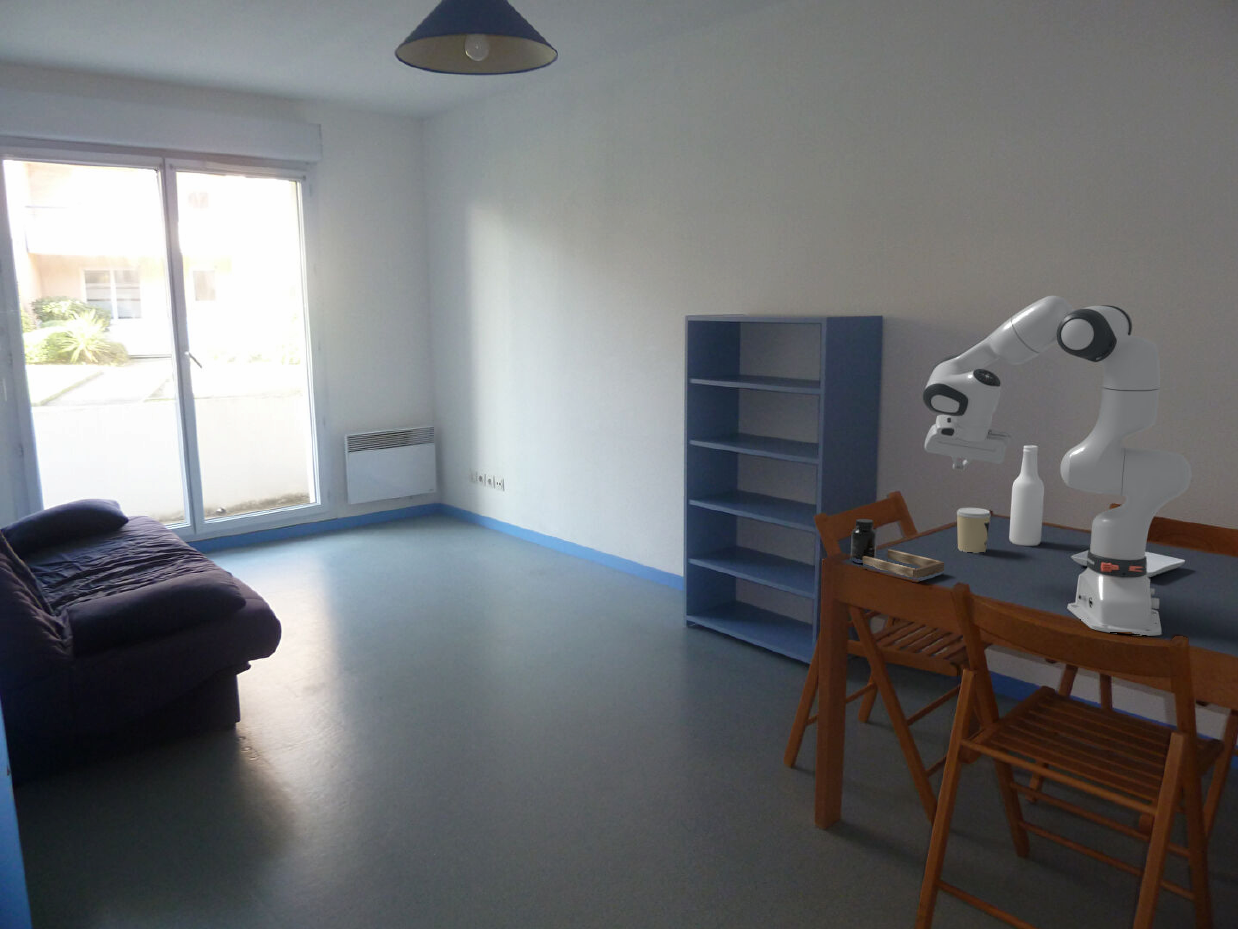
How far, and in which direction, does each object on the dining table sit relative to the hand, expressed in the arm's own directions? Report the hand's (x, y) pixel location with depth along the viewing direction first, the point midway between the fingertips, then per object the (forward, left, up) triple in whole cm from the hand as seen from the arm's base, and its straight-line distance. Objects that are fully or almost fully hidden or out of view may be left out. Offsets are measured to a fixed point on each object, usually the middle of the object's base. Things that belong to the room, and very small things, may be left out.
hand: (958, 468), depth 237 cm
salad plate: (+12, -45, -29) cm, 55 cm away
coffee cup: (+21, -6, -28) cm, 36 cm away
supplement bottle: (0, +24, -28) cm, 37 cm away
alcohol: (+34, -22, -28) cm, 50 cm away
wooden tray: (-8, +13, -28) cm, 32 cm away
